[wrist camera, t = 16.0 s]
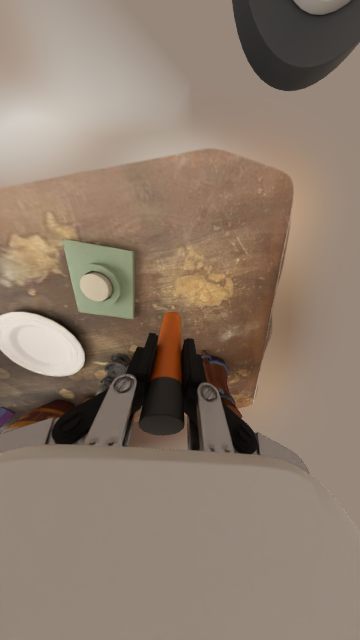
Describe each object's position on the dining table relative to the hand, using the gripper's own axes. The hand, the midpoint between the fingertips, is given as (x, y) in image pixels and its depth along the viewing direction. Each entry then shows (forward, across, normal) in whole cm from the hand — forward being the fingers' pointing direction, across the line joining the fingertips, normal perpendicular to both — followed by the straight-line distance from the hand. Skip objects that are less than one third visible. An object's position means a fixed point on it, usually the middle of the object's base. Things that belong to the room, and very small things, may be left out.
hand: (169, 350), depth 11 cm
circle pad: (+16, +14, +1) cm, 22 cm away
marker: (+6, 0, 0) cm, 6 cm away
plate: (+19, +31, +20) cm, 42 cm away
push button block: (+19, +14, +1) cm, 24 cm away
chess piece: (+19, +12, +23) cm, 32 cm away
